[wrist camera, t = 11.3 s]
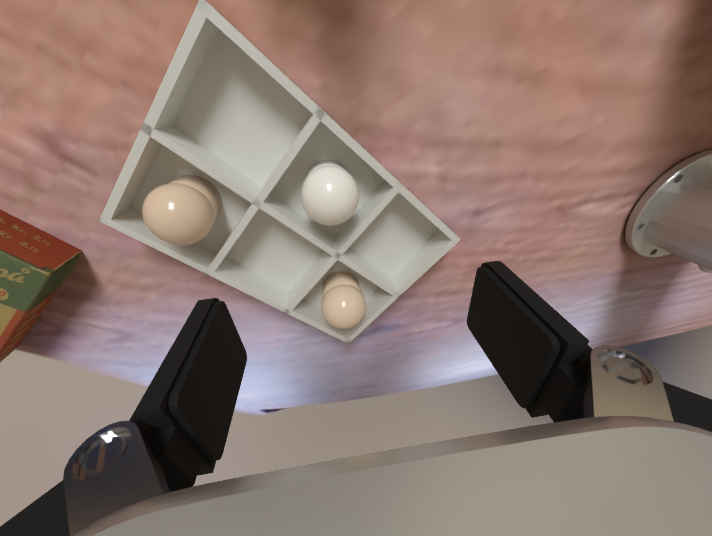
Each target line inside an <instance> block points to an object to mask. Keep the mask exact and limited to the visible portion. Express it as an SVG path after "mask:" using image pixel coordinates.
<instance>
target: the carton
mask: <svg viewBox="0 0 712 536" xmlns="http://www.w3.org/2000/svg"><path fill="white" fill-rule="evenodd" d="M81 252H82V250H80V249H78V248H76V247H74V246H72V245H70V244H68V243H66V242H64V241H62V240H60V239H58V238H56V237H54V236H52V235H50V234H48V233H46V232H44V231H42V230H40V229H38V228H36V227H34V226H32V225H30V224H28V223H26V222H24V221H22V220H20V219H18V218H16V217H14V216H12V215H10V214H8V213H6V212H4V211H2V210H0V362H1V361H2V360H3V359H4V358H5V357H6V356H8V355H9V354H10V353H11V352H12V351H13V350H14V349H15V348H17V347H18V346H19V345H20V344H21V343H22V341H23V340H24V338H25V337H26V335H27V334H28V333H29V331H30V330H31V328H32V327H33V325H34V324H35V322H36V321H37V319H38V318H39V317H40V315H41V314H42V312H43V311H44V309H45V308H46V306H47V305H48V303H49V302H50V301H51V299H52V298H53V296H54V295H55V293H56V292H57V290H58V289H59V288H60V286H61V285H62V283H63V282H64V280H65V279H66V278H67V276H68V275H69V273H70V272H71V271H72V269H73V268H74V266H75V265H76V264H77V262H78V261H79V260H80V259H81V258H82V256H83V254H82V253H81Z"/></svg>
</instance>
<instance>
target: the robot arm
mask: <svg viewBox="0 0 712 536" xmlns="http://www.w3.org/2000/svg"><path fill="white" fill-rule="evenodd" d="M625 240H626V243H627V245H628V247H629V248H630V249H631V250H632V251H634V252H636V253H638V254H640V255H642V256H645V257H653V258H655V257H662V256H666V255H670V254H675V255H677V256H679V257H681V258H684V259H686V260H688V261H691V262H693V263H695V264H697V265H698V267H699V269H700V270H701V271H703V272H708V273H712V150H708V151H705V152H701V153H699V154H696V155H694V156H692V157H690V158H688V159H686V160H684V161H682V162H681V163H679V164H677V165H676V166H674V167H673V168H672V169H670V170H669V171H668V172H666V173H665V174H663V175H662V176H661V177H660V178H659V179H658V180H657V181H656V182H655V183H654V184H653V185H652V186H651V187H650V188H649V189H648V190H647V191H646V192H645V193H644V195H643V196H642V197H641V199H640V200H639V201H638V203H637V204H636V206H635V207H634V209H633V211H632V213H631V215H630V217H629V220H628V222H627V226H626V231H625ZM467 325H468V328H469V330H470V331H471V333H472V334H473V336H474V337H475V339H476V340H477V342H478V343H479V345H480V346H481V348H482V349H483V351H484V352H485V354H486V355H487V357H488V358H489V360H490V362H491V363H492V365H493V366H494V368H495V369H496V371H497V372H498V374H499V375H500V377H501V378H502V380H503V381H504V383H505V384H506V386H507V387H508V389H509V390H510V392H511V394H512V395H513V397H514V398H515V400H516V401H517V403H518V404H519V405H520V406H521V407H522V408H526V410H527V411H528V413H529V414H530V416H531V417H532V418H533V417H538V416H544V415H547V414H549V416H550V417H551V419H552V420H553V423H548V424H542V425H535V426H528V427H522V428H516V429H511V430H505V431H499V432H493V433H487V434H481V435H475V436H469V437H463V438H458V439H452V440H446V441H440V442H434V443H428V444H423V445H417V446H411V447H405V448H400V449H394V450H388V451H383V452H377V453H371V454H366V455H360V456H354V457H348V458H343V459H337V460H332V461H326V462H320V463H315V464H309V465H304V466H299V467H293V468H287V469H282V470H276V471H270V472H265V473H260V474H254V475H249V476H244V477H239V478H234V479H228V480H224V481H218V482H213V483H208V484H203V485H199V486H193V485H194V483H195V480H196V476H197V475H202V474H208V473H213V470H214V467H215V463H216V460H219V459H220V458H221V457H222V454H223V451H224V447H225V443H226V439H227V435H228V431H229V428H230V424H231V420H232V416H233V412H234V408H235V404H236V400H237V397H238V393H239V389H240V385H241V381H242V377H243V373H244V369H245V366H246V361H247V354H246V350H245V348H244V346H243V343H242V341H241V339H240V336H239V334H238V332H237V329H236V327H235V325H234V322H233V320H232V318H231V316H230V313H229V311H228V309H227V306H226V304H225V302H224V301H219V299H218V298H212V299H204V300H199V301H198V302H197V303H196V305H195V307H194V309H193V310H192V312H191V314H190V316H189V317H188V319H187V321H186V323H185V324H184V326H183V328H182V330H181V331H180V333H179V335H178V337H177V338H176V340H175V342H174V344H173V345H172V347H171V349H170V350H169V352H168V354H167V356H166V357H165V359H164V361H163V363H162V364H161V366H160V368H159V370H158V371H157V373H156V375H155V377H154V378H153V380H152V382H151V384H150V385H149V387H148V389H147V391H146V393H145V394H144V396H143V398H142V399H141V401H140V403H139V405H138V406H137V408H136V410H135V412H134V413H133V415H132V417H131V419H130V420H129V421H119V422H116V423H113V424H110V425H108V426H106V427H104V428H102V429H100V430H99V431H97V432H96V433H94V434H93V435H92V436H90V437H89V438H88V439H86V441H84V443H82V444H81V445H80V446H79V448H77V450H76V451H75V452H74V454H73V455H72V456H71V457H70V459H69V461H68V463H67V465H66V467H65V469H64V476H63V481H61V482H60V483H59V484H57V485H56V486H55V487H53V488H52V489H50V490H49V491H48V492H47V493H45V494H44V495H42V496H41V497H40V498H38V499H37V500H36V501H34V502H33V503H32V504H30V505H29V506H28V507H26V508H25V509H24V510H22V511H21V512H19V513H18V514H17V515H15V516H14V517H13V518H12V519H10V520H9V521H7V522H6V523H5V524H3V525H2V526H1V527H0V536H712V400H711V399H709V398H706V397H703V396H700V395H698V394H695V393H692V392H689V391H687V390H684V389H681V388H679V387H676V386H673V385H670V384H668V383H665V382H662V379H661V376H660V375H659V373H658V371H657V370H656V369H655V368H654V367H653V366H652V365H651V364H650V363H649V362H647V361H646V360H645V359H643V358H642V357H640V356H638V355H637V354H635V353H633V352H631V351H628V350H625V349H623V348H619V347H615V346H603V345H602V346H598V347H595V348H594V349H592V348H591V347H589V346H588V345H587V344H588V343H589V340H588V339H587V338H586V337H584V336H583V335H582V334H581V333H580V332H579V331H578V330H577V329H576V328H574V327H573V326H572V325H571V324H570V323H569V322H568V321H567V320H566V319H564V318H563V317H562V316H561V315H560V314H559V313H558V312H557V311H556V310H554V309H553V308H552V307H551V306H550V305H549V304H548V303H547V302H546V301H544V300H543V299H542V298H541V297H540V296H539V295H538V294H537V293H536V292H534V291H533V290H532V289H531V288H530V287H529V286H528V285H527V284H525V283H524V282H523V281H522V280H521V279H520V278H519V277H518V276H517V275H515V274H514V273H513V272H512V271H511V270H510V269H509V268H508V267H507V266H505V265H504V264H503V263H502V262H501V261H494V262H486V263H483V264H482V265H481V267H479V268H478V269H477V272H476V277H475V282H474V287H473V292H472V297H471V302H470V307H469V312H468V317H467ZM192 486H193V487H192Z"/></svg>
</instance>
